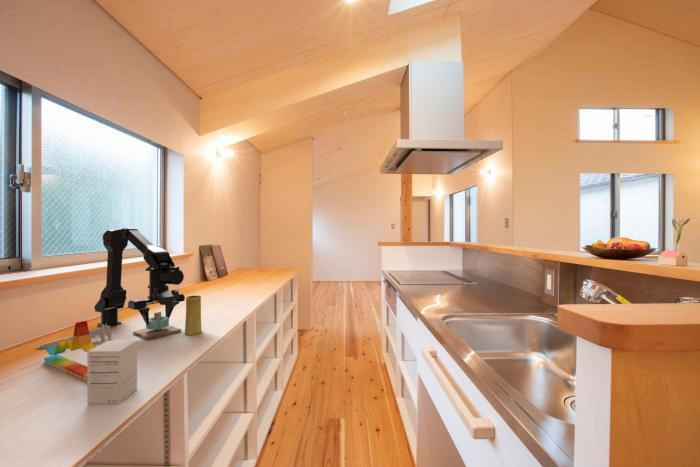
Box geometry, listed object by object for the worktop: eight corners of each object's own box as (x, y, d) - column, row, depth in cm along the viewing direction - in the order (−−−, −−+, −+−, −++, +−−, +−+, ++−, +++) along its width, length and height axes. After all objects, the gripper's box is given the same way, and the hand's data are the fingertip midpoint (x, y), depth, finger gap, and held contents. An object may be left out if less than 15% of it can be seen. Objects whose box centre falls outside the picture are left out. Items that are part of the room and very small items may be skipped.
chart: (43, 364, 96) (43, 314, 95) (56, 360, 98) (57, 312, 98) (97, 388, 82) (97, 330, 82) (111, 383, 85) (111, 327, 85)
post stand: (133, 334, 123) (133, 313, 122) (165, 326, 133) (165, 307, 133) (148, 340, 116) (148, 318, 116) (181, 331, 126) (181, 311, 126)
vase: (205, 331, 127) (205, 295, 127) (193, 336, 121) (193, 298, 121) (193, 329, 129) (193, 294, 129) (180, 334, 123) (181, 297, 123)
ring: (143, 327, 123) (143, 319, 123) (162, 322, 129) (162, 315, 129) (152, 330, 119) (152, 322, 119) (171, 325, 125) (171, 318, 125)
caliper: (111, 339, 117) (111, 322, 117) (110, 340, 116) (110, 323, 116) (36, 349, 107) (36, 330, 107) (34, 350, 106) (34, 331, 106)
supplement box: (107, 389, 81) (107, 340, 81) (137, 388, 82) (138, 339, 81) (85, 405, 74) (86, 351, 73) (119, 404, 74) (120, 350, 74)
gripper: (142, 288, 112) (141, 332, 112) (192, 281, 128) (192, 320, 128) (127, 285, 118) (126, 327, 118) (177, 279, 134) (177, 316, 134)
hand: (157, 322), depth 124 cm, fingers closed on ring, 7 cm apart
